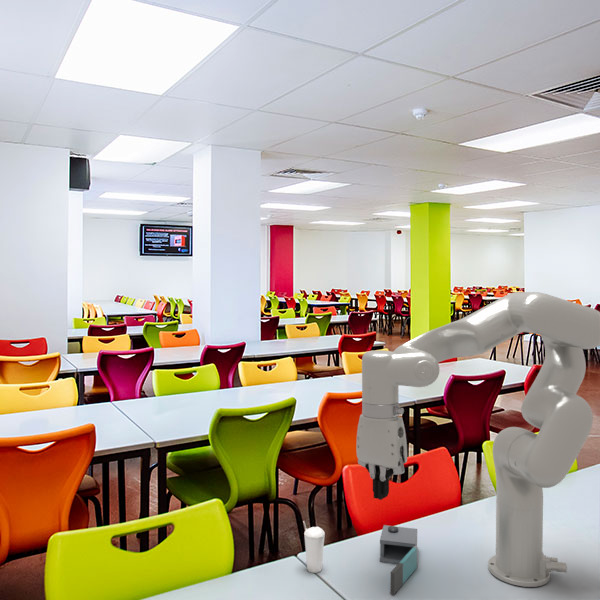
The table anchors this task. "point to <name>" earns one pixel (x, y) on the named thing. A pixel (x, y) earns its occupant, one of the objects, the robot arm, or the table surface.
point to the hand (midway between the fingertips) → (380, 496)
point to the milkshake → (314, 548)
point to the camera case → (396, 543)
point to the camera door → (404, 569)
